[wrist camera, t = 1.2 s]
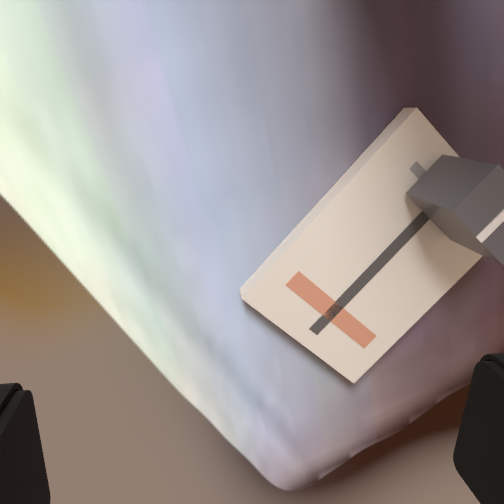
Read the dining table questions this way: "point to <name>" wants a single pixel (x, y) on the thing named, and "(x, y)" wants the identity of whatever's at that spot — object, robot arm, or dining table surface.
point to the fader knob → (465, 203)
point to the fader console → (363, 255)
